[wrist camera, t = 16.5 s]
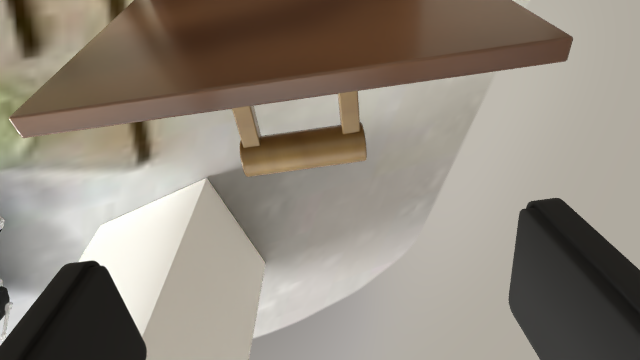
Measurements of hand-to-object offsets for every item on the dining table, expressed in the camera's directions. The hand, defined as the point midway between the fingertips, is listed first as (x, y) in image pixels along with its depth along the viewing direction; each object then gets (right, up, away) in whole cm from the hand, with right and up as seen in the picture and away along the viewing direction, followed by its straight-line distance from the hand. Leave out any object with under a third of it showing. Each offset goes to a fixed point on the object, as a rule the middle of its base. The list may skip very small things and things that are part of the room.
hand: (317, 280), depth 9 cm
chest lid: (-1, +10, +9) cm, 14 cm away
